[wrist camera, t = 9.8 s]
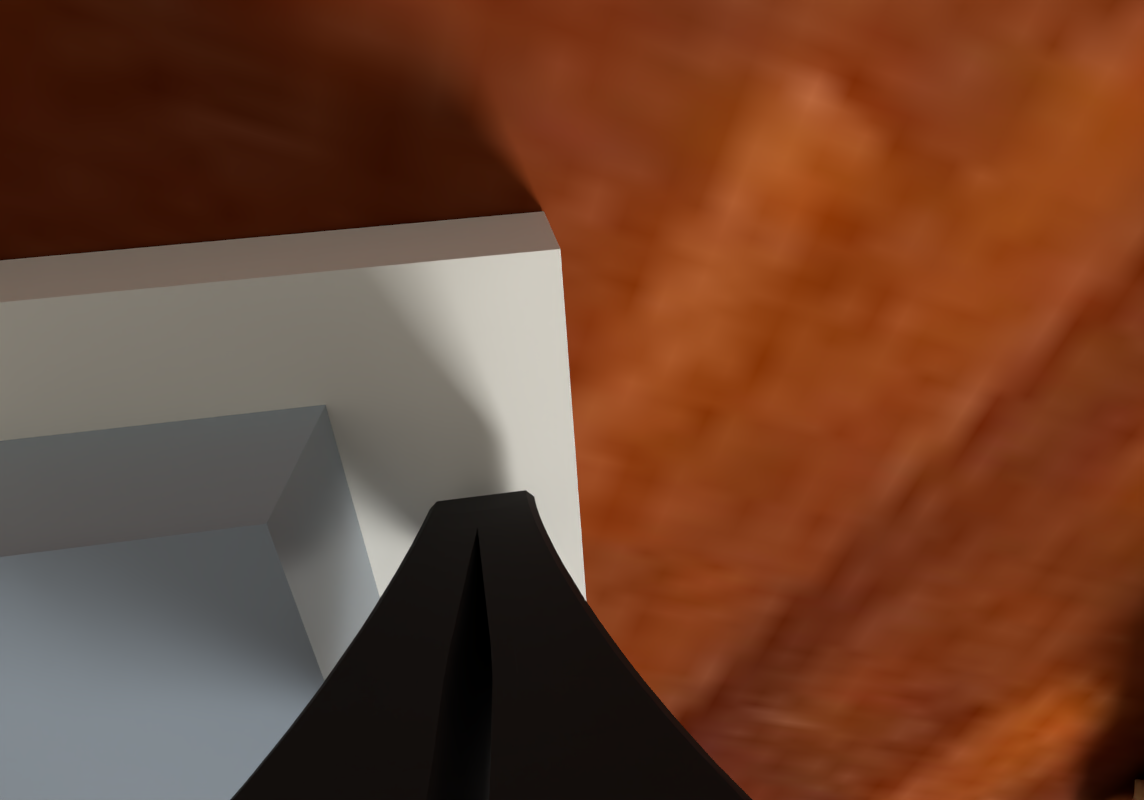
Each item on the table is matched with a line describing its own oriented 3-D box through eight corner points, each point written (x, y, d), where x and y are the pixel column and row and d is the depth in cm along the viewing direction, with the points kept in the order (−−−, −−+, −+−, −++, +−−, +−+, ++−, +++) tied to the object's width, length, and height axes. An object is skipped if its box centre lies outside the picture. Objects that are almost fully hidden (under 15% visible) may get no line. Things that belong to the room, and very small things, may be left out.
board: (593, 802, 17) (609, 908, 15) (141, 877, 16) (86, 1001, 14) (543, 211, 10) (560, 249, 8) (-289, 286, 9) (-543, 354, 7)
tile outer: (392, 644, 10) (367, 798, 8) (108, 684, 10) (-1, 856, 8) (325, 404, 8) (267, 523, 6) (-39, 445, 8) (-245, 588, 6)
